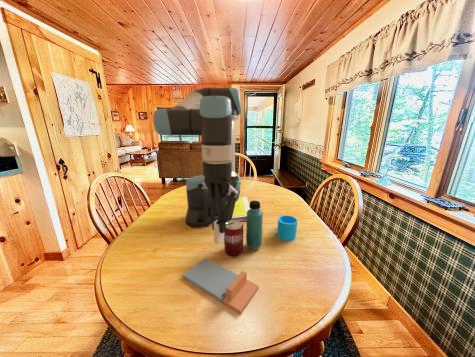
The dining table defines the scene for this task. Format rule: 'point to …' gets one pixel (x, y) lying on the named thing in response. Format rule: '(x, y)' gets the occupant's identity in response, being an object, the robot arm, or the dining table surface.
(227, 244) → the soda can
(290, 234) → the mug
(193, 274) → the ticket
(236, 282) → the stub
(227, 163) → the robot arm
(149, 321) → the dining table surface
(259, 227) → the beverage bottle
